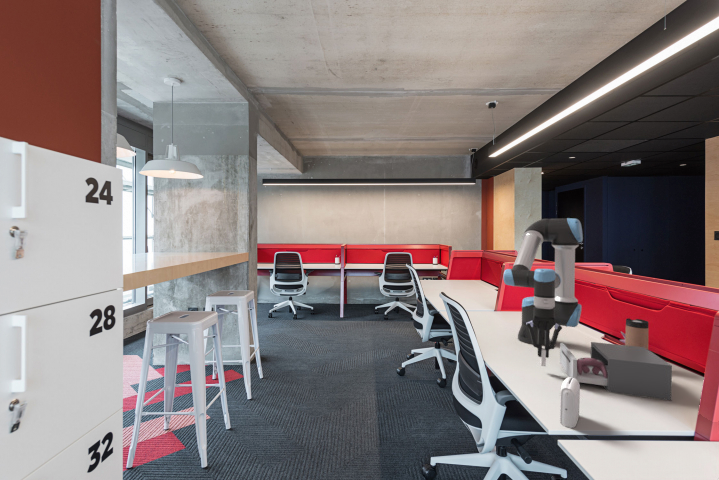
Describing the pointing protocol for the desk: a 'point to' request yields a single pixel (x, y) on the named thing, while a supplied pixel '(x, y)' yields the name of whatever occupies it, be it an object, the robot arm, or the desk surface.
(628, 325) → the travel mug
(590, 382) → the light grey drawer
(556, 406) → the desk surface
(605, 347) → the box
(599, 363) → the video game controller
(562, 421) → the photo printer
